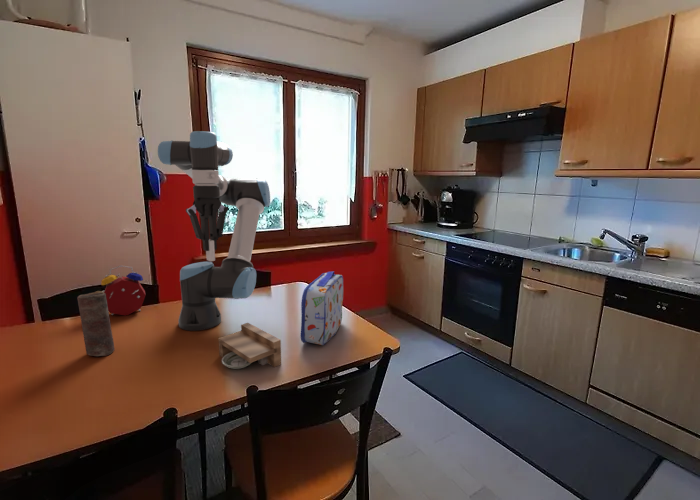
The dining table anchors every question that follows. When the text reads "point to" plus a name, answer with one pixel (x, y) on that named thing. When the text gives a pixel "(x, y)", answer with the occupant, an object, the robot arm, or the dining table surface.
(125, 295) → the alarm clock
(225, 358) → the saucer
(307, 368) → the dining table surface
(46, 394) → the dining table surface
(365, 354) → the dining table surface
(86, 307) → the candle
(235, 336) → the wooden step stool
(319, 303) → the lunch box
